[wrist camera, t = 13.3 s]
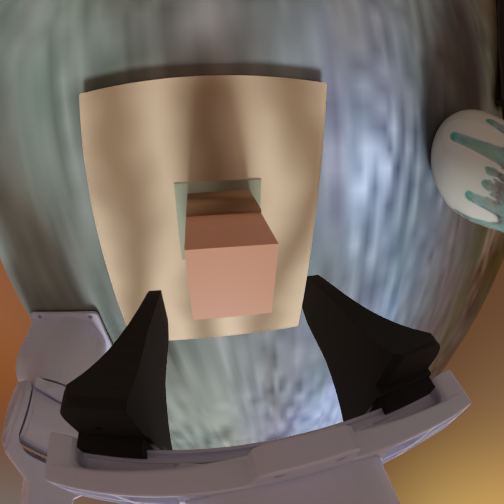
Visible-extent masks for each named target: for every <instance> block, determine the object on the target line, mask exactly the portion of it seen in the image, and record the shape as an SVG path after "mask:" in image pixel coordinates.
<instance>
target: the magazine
mask: <svg viewBox="0 0 504 504" xmlns="http://www.w3.org/2000/svg"><path fill="white" fill-rule="evenodd" d="M497 22H498V56H499V68H500V86H501V99H499V100H497V101H496V103H497V104H498V106H502V116H503V120H504V0H497Z"/></svg>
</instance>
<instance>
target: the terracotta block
mask: <svg viewBox="0 0 504 504" xmlns="http://www.w3.org/2000/svg"><path fill="white" fill-rule="evenodd" d="M278 246H279V243H278V242H277V240H276V238H275V236H274V235H273V233H272V231H271V229H270V228H269V226H268V224H267V222H266V221H265V219H264V217H263V215H262V214H261V213H245V214H225V215H208V216H192V217H186V225H185V245H184V252H185V262H186V270H187V279H188V287H189V295H190V302H191V309H192V316H193V320H201V319H213V318H225V317H235V316H245V315H255V314H264V313H272V306H273V297H274V287H275V277H276V267H277V257H278Z"/></svg>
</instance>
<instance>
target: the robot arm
mask: <svg viewBox="0 0 504 504" xmlns="http://www.w3.org/2000/svg"><path fill="white" fill-rule="evenodd" d="M302 308H303V311H304V314H305V317H306V320H307V323H308V325H309V327H310V329H311V331H312V333H313V335H314V337H315V339H316V341H317V343H318V345H319V347H320V349H321V351H322V353H323V355H324V358H325V360H326V362H327V365H328V368H329V371H330V374H331V376H332V380H333V383H334V386H335V389H336V393H337V396H338V400H339V404H340V408H341V412H342V417H343V422H341V423H338V424H335V425H331V426H328V427H325V428H321V429H318V430H314V431H310V432H306V433H302V434H298V435H294V436H289V437H285V438H280V439H275V440H270V441H264V442H259V443H252V444H246V445H239V446H231V447H221V448H210V449H196V450H172V446H171V439H170V432H169V424H168V415H167V404H166V387H165V378H166V364H167V352H168V341H169V330H168V318H167V314H166V309H165V305H164V301H163V296H162V292H161V290H155V291H148V293H147V294H146V296H145V298H144V300H143V301H142V303H141V305H140V306H139V308H138V310H137V311H136V313H135V315H134V316H133V318H132V319H131V321H130V322H129V324H128V325H127V327H126V328H125V330H124V331H123V332H122V334H121V335H120V336H119V338H118V339H117V340H116V342H115V343H114V344H113V345H112V343H111V340H110V338H109V336H108V334H107V332H106V330H105V327H104V325H103V323H102V320H101V318H100V316H99V314H98V313H97V312H96V311H74V312H32V313H31V317H32V319H33V322H32V324H31V327H30V329H29V331H28V333H27V335H26V337H25V340H24V342H23V344H22V347H21V349H20V351H19V354H18V357H17V361H16V374H17V379H18V382H19V383H18V384H17V386H16V388H15V390H14V392H13V394H12V397H11V399H10V402H9V406H8V409H7V413H6V417H5V423H4V431H3V436H2V443H3V446H4V451H5V453H6V454H7V456H8V457H9V459H10V460H11V462H12V463H13V464H14V466H15V467H16V468H17V470H18V471H19V472H20V474H21V475H22V476H23V478H24V480H23V486H22V495H21V504H73V500H74V499H75V498H78V497H80V496H86V497H90V498H95V499H100V500H105V501H110V502H116V503H121V504H400V503H399V500H398V498H397V496H396V493H395V491H394V489H393V487H392V484H391V482H390V480H389V477H388V475H387V473H386V471H385V468H384V466H383V463H385V462H387V461H389V460H391V459H393V458H395V457H397V456H399V455H401V454H402V453H404V452H406V451H407V450H409V449H411V448H413V447H414V446H416V445H418V444H420V443H421V442H423V441H424V440H426V439H428V438H429V437H431V436H432V435H434V434H435V433H437V432H439V431H440V430H442V429H443V428H444V427H446V426H447V425H448V424H449V423H451V422H452V421H453V420H454V419H455V418H456V417H457V416H459V415H460V414H461V413H462V412H463V411H464V410H465V409H466V408H467V407H468V406H469V405H470V404H471V401H470V399H469V398H468V396H467V394H466V393H465V392H464V390H463V388H462V387H461V386H460V384H459V383H458V381H457V380H456V378H455V377H454V375H453V374H452V373H451V371H450V370H447V371H446V372H444V373H442V374H440V375H438V376H436V377H435V378H434V379H432V380H431V379H430V378H429V376H430V375H431V372H430V371H429V369H428V368H429V366H430V365H431V363H432V362H433V361H434V359H435V358H436V356H437V354H438V352H439V350H440V345H439V343H438V342H437V341H436V339H435V338H434V337H433V336H432V334H431V333H427V332H423V331H419V330H415V329H412V328H409V327H406V326H403V325H400V324H397V323H395V322H392V321H390V320H388V319H385V318H383V317H381V316H379V315H377V314H375V313H373V312H372V311H370V310H368V309H366V308H365V307H363V306H361V305H360V304H358V303H357V302H355V301H354V300H352V299H351V298H349V297H348V296H346V295H345V294H344V293H342V292H341V291H339V290H338V289H337V288H335V287H334V286H333V285H331V284H330V283H329V282H327V281H326V280H325V279H323V278H322V277H320V276H319V275H314V276H307V281H306V287H305V293H304V299H303V304H302ZM90 315H91V316H90ZM20 443H21V444H23V445H25V446H27V447H28V448H30V449H32V450H35V451H36V452H38V453H40V454H43V455H45V456H47V459H44V458H42V457H40V456H38V455H36V454H34V453H32V452H30V451H28V450H26V449H25V448H23V447H22V446H21V444H20Z"/></svg>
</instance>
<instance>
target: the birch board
mask: <svg viewBox="0 0 504 504" xmlns="http://www.w3.org/2000/svg"><path fill="white" fill-rule="evenodd" d="M326 90H327V83H323V82H316V81H309V80H301V79H292V78H281V77H268V76H247V75H210V76H189V77H176V78H165V79H156V80H148V81H141V82H135V83H128V84H123V85H117V86H112V87H107V88H103V89H98V90H94V91H90V92H86V93H82V94H79V100H80V120H81V134H82V144H83V153H84V161H85V169H86V175H87V182H88V188H89V193H90V199H91V204H92V209H93V214H94V219H95V223H96V228H97V232H98V236H99V240H100V244H101V248H102V252H103V255H104V259H105V263H106V266H107V270H108V273H109V276H110V280H111V283H112V286H113V289H114V292H115V295H116V298H117V301H118V304H119V307H120V310H121V312H122V315H123V318H124V321H125V323H126V326H127V325H128V324H129V322H130V321H131V319H132V318H133V316H134V315H135V313H136V311H137V310H138V308H139V306H140V305H141V303H142V301H143V300H144V298H145V296H146V294H147V293H148V291H155V290H161V292H162V296H163V301H164V305H165V309H166V314H167V318H168V330H169V340H183V339H197V338H208V337H219V336H228V335H237V334H246V333H254V332H262V331H269V330H276V329H283V328H289V327H296V326H298V324H299V318H300V313H301V307H302V302H303V296H304V290H305V284H306V278H307V272H308V265H309V259H310V252H311V245H312V238H313V231H314V223H315V216H316V208H317V199H318V190H319V181H320V171H321V161H322V150H323V138H324V124H325V109H326ZM233 190H250V191H251V193H252V195H253V196H254V198H255V200H256V201H257V203H258V205H259V206H260V208H261V214H262V215H263V217H264V219H265V221H266V222H267V224H268V226H269V228H270V229H271V231H272V233H273V235H274V236H275V238H276V240H277V242H278V243H279V246H278V257H277V267H276V277H275V287H274V297H273V306H272V313H264V314H255V315H245V316H235V317H225V318H213V319H201V320H193V316H192V309H191V302H190V295H189V287H188V279H187V270H186V262H185V252H184V245H185V225H186V208H187V194H189V193H202V192H216V191H233Z"/></svg>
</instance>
